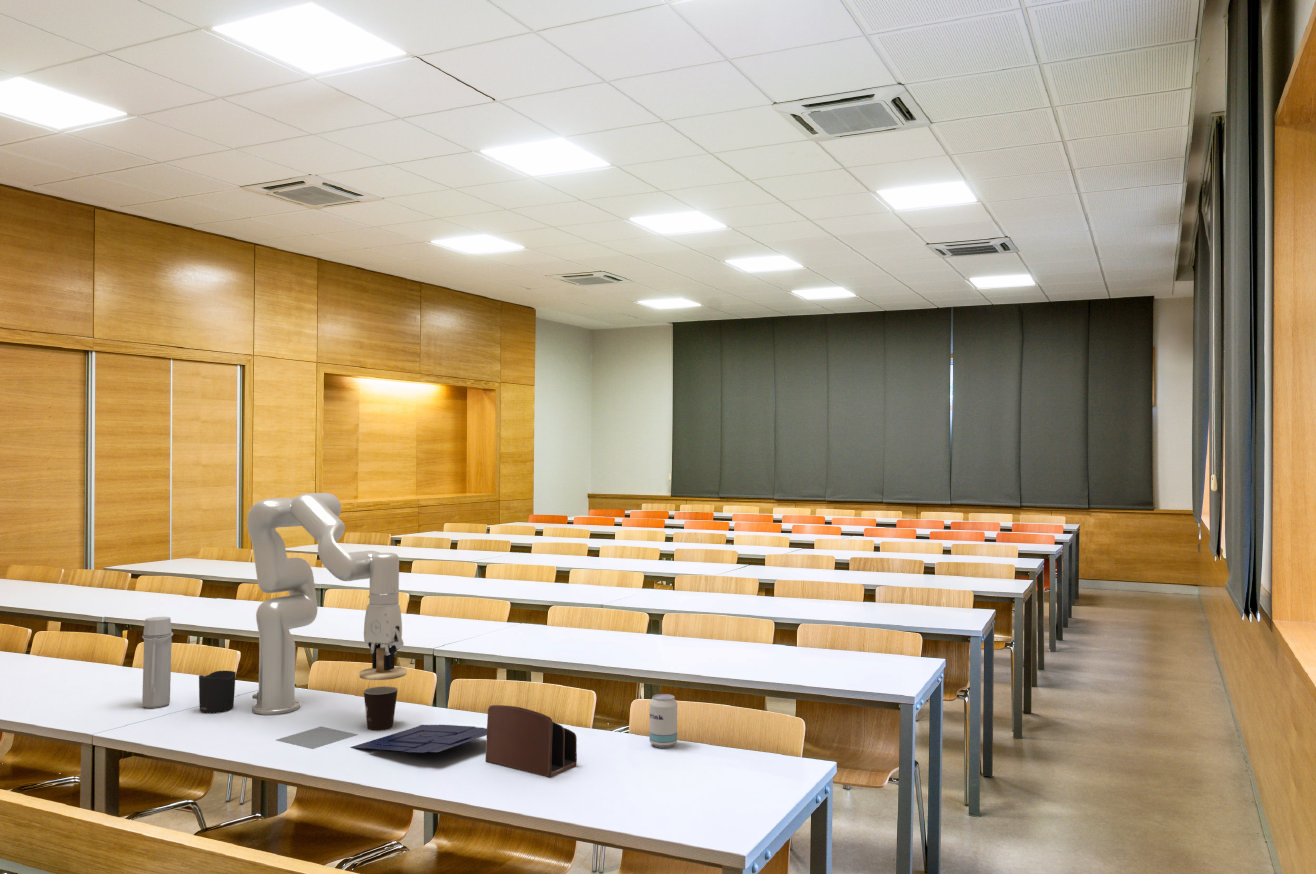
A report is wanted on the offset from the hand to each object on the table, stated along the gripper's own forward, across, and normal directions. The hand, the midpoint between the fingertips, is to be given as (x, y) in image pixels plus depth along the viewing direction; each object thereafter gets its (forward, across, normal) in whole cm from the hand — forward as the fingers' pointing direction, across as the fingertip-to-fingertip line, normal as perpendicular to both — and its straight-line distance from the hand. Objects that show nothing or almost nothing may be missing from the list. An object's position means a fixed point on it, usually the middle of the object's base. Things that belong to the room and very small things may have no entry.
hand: (383, 667), depth 241 cm
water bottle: (+15, -71, -19) cm, 75 cm away
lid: (+2, 0, 0) cm, 2 cm away
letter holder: (+16, +52, -4) cm, 55 cm away
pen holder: (+15, -53, -12) cm, 57 cm away
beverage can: (+16, +72, +25) cm, 78 cm away
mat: (+16, -6, -16) cm, 23 cm away
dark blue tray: (+16, +22, -6) cm, 28 cm away
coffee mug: (+16, 0, 0) cm, 16 cm away
